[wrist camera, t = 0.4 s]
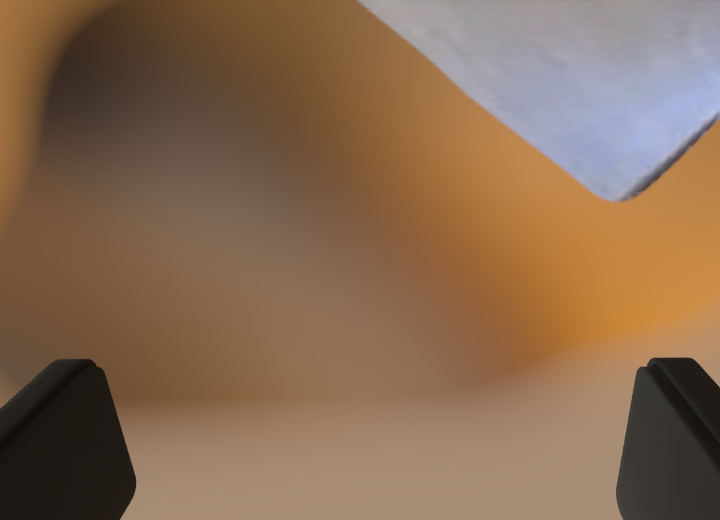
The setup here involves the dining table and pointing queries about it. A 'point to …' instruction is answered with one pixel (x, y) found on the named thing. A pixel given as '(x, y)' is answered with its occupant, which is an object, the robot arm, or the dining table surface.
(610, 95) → the dining table surface
